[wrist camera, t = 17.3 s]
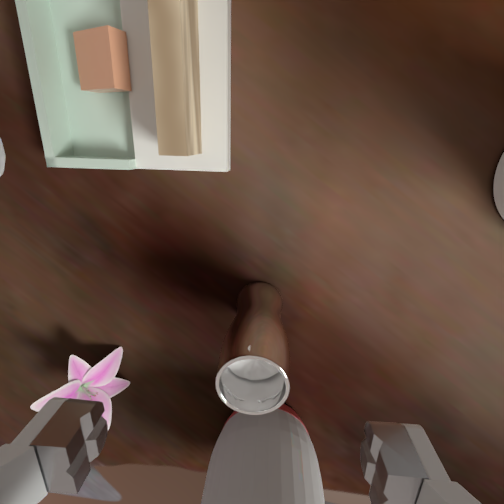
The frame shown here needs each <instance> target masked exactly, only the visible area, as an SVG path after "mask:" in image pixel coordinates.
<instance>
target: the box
mask: <svg viewBox="0 0 504 504" xmlns="http://www.w3.org/2000/svg"><path fill="white" fill-rule="evenodd" d="M15 4H16V9H17V14H18V19H19V24H20V29H21V34H22V40H23V45H24V50H25V55H26V60H27V65H28V71H29V76H30V81H31V86H32V91H33V96H34V101H35V107H36V112H37V117H38V122H39V127H40V132H41V138H42V143H43V148H44V153H45V158H46V163H47V167H65V168H92V169H120V170H132V169H136V162H135V152H134V142H133V132H132V121H131V111H130V101H129V91H127V92H109V93H95V92H89V91H82V90H81V86H80V79H79V72H78V65H77V58H76V51H75V44H74V37H73V32H76V31H81V30H86V29H91V28H96V27H101V26H106V25H109V26H111V27H114V28H117V29H119V30H122V19H121V9H120V0H15ZM122 31H123V30H122Z"/></svg>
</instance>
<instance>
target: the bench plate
mask: <svg viewBox="0 0 504 504" xmlns="http://www.w3.org/2000/svg"><path fill="white" fill-rule="evenodd" d="M120 9H121V19H122V30H123V31H125V32H126V36H127V47H128V58H129V69H130V80H131V90H132V91H129V101H130V111H131V121H132V132H133V142H134V152H135V162H136V169H161V170H189V171H217V172H228V171H229V170H230V139H231V0H198V29H199V66H200V103H201V140H202V154H196V155H191V156H164V155H159V153H158V139H157V126H156V112H155V98H154V84H153V71H152V57H151V43H150V30H149V16H148V2H147V0H120Z"/></svg>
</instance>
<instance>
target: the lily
mask: <svg viewBox="0 0 504 504" xmlns="http://www.w3.org/2000/svg"><path fill="white" fill-rule="evenodd" d="M122 354H123V349H122V347H119V348H117V349H116V350H114V351H113V352H112V353H110V354H109V355H108V356H107V357H105V358H104V359H103V360H102V361H100V362H99V363H97V364H96V365H95V366H94V367H91V366H90V365H89V364H88V363H86V362H85V361H84V360H82V359H80V358H79V357H77V356H75V355H70V357H69V366H68V382H69V383H68V384H66V385H64V386H62V387H61V388H59V389H57V390H55V391H53V392H52V393H50V394H48V395H46V396H44V397H42V398H41V399H39V400H37V401H36V402H34V403H33V404H32V405H31V406H30V407H31V409H32V410H35V411H37V412H39V411H40V410H41V408H42V407H43V406H44V405H45V404H46V403H47V402H48V401H49V400H50V399H52V398H54V397H59V398H72V399H81V400H91V401H100V402H103V405H104V409H105V411H104V413H103V414H102V417H103V418H104V419H105V420H106V421H107V426H108V430H109V428H110V424H111V417H112V403H111V399H110V398H111V397H113V396H115V395H117V394H118V393H120V392H121V391H123V390H124V389H126V388H127V387H128V386H129V385H130V381H128V380H124V379H121V378H116V377H115V376H116V374H117V372H118V369H119V366H120V363H121V359H122Z"/></svg>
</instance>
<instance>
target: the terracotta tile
mask: <svg viewBox="0 0 504 504" xmlns="http://www.w3.org/2000/svg"><path fill="white" fill-rule="evenodd" d="M73 37H74V44H75V51H76V58H77V65H78V72H79V79H80V86H81V90H82V91H89V92H95V93H109V92H127V91H132V90H131V80H130V69H129V58H128V47H127V36H126V32H125V31H122V30H119V29H117V28H114V27H111V26H109V25H106V26H101V27H96V28H91V29H86V30H81V31H76V32H73Z"/></svg>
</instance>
